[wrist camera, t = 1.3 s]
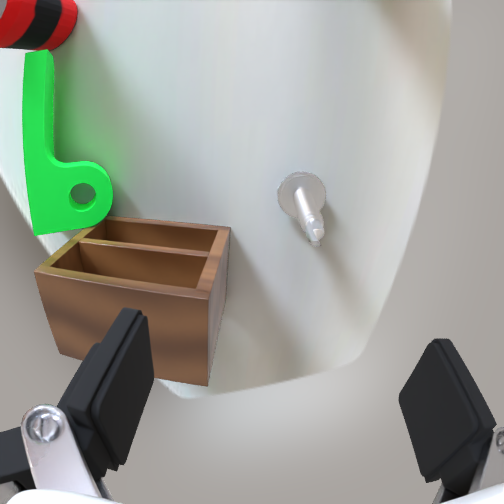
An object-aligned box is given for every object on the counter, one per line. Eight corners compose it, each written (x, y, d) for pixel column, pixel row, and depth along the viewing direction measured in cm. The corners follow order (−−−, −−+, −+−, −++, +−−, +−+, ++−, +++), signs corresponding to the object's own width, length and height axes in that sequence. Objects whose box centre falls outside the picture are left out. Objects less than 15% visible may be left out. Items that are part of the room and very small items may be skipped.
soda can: (44, -1, 22) (-18, -16, 11) (87, -5, 23) (25, -29, 12) (27, 51, 25) (-39, 50, 14) (68, 51, 26) (-1, 44, 15)
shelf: (101, 215, 35) (33, 271, 22) (230, 227, 35) (208, 299, 22) (109, 285, 39) (59, 354, 27) (225, 301, 39) (207, 387, 27)
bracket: (111, 204, 38) (115, 223, 33) (42, 214, 34) (34, 236, 28) (112, 53, 29) (115, 42, 24) (37, 61, 25) (25, 53, 19)
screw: (309, 160, 31) (330, 199, 33) (268, 181, 32) (290, 219, 34) (334, 193, 19) (362, 253, 21) (268, 227, 21) (301, 282, 22)
